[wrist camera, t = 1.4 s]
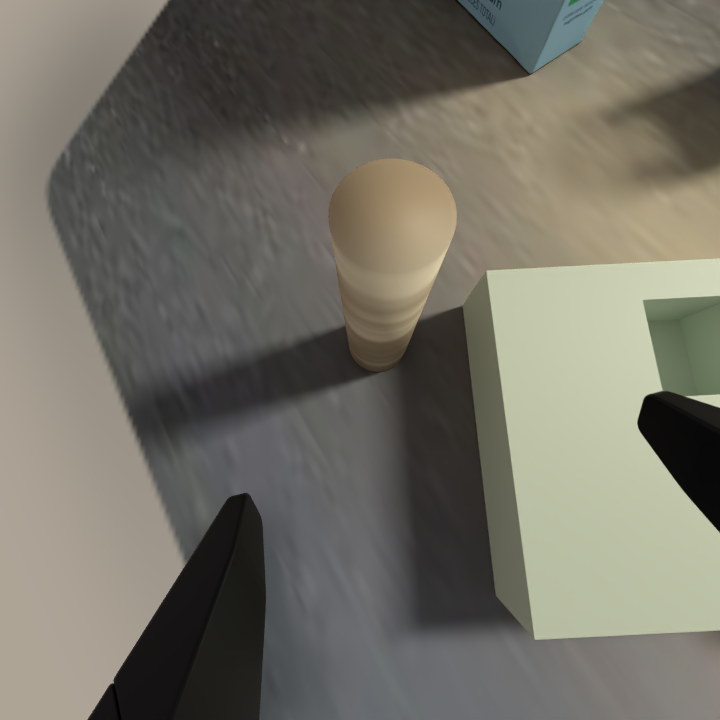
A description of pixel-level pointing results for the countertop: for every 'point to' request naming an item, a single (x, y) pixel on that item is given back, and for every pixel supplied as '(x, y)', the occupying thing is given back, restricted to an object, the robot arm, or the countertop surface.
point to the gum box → (535, 26)
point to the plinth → (593, 444)
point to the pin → (388, 253)
